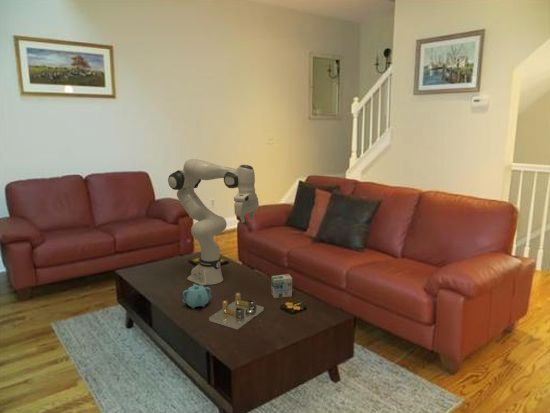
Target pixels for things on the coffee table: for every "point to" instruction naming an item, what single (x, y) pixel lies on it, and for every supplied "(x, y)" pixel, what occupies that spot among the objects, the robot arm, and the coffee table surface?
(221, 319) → the plate
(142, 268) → the coffee table surface
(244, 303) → the knob
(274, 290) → the light bulb box
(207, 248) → the robot arm
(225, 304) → the knob
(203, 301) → the teapot
